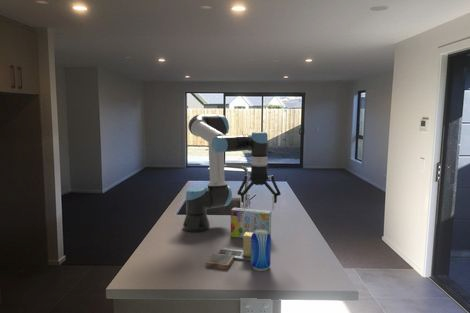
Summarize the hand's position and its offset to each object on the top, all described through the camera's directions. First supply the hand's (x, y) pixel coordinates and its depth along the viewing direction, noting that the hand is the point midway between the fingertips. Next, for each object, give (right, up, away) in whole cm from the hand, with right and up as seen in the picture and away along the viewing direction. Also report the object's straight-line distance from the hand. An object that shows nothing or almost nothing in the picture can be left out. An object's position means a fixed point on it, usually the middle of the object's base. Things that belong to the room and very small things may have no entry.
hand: (258, 209), depth 167 cm
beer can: (0, -23, -15) cm, 27 cm away
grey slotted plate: (-8, -21, -3) cm, 23 cm away
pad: (-18, -22, -11) cm, 31 cm away
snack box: (-3, -18, +21) cm, 28 cm away
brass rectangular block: (-5, -21, -4) cm, 22 cm away
